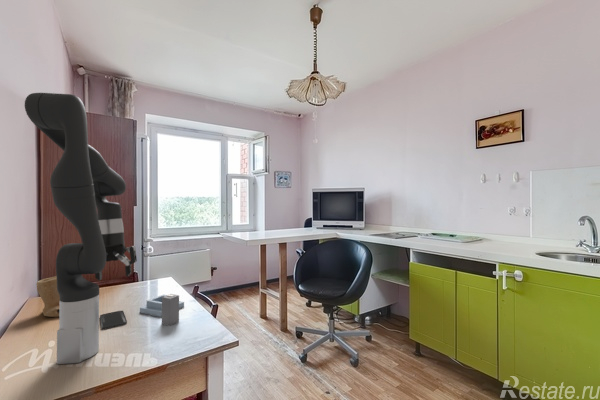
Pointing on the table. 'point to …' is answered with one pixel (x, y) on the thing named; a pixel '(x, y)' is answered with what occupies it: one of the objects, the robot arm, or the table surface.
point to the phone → (112, 319)
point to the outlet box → (155, 306)
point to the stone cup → (49, 296)
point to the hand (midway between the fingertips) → (114, 277)
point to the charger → (170, 309)
